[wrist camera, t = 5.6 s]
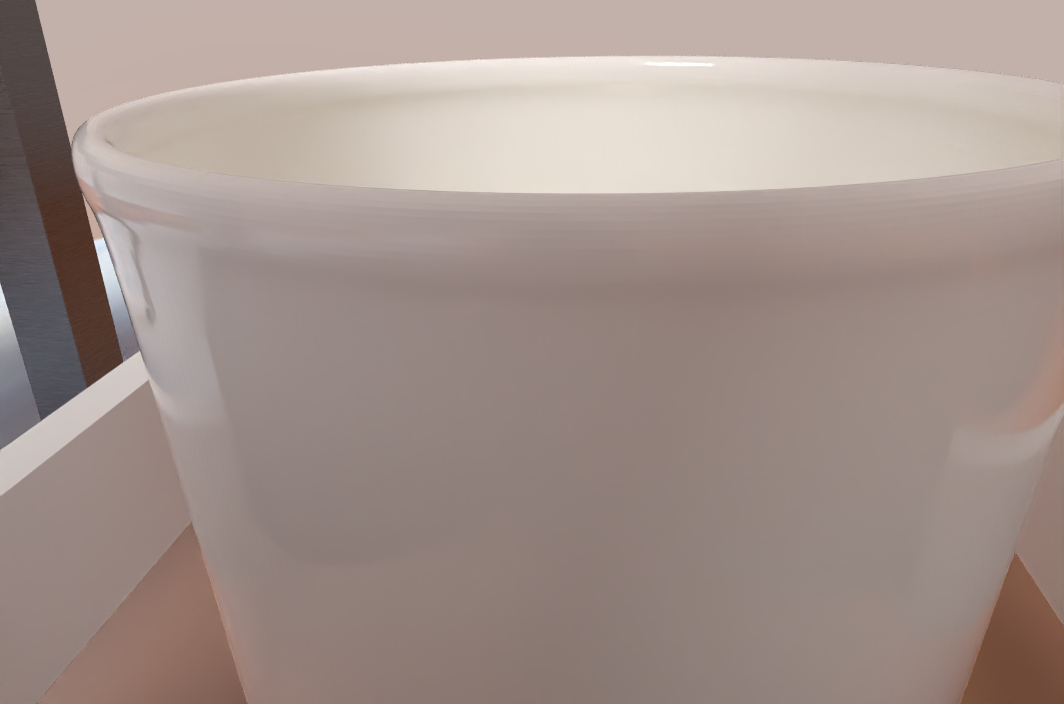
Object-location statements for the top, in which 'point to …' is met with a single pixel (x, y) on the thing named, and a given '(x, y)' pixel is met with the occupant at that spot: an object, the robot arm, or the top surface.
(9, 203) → the stand
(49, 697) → the top surface
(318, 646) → the candle holder
